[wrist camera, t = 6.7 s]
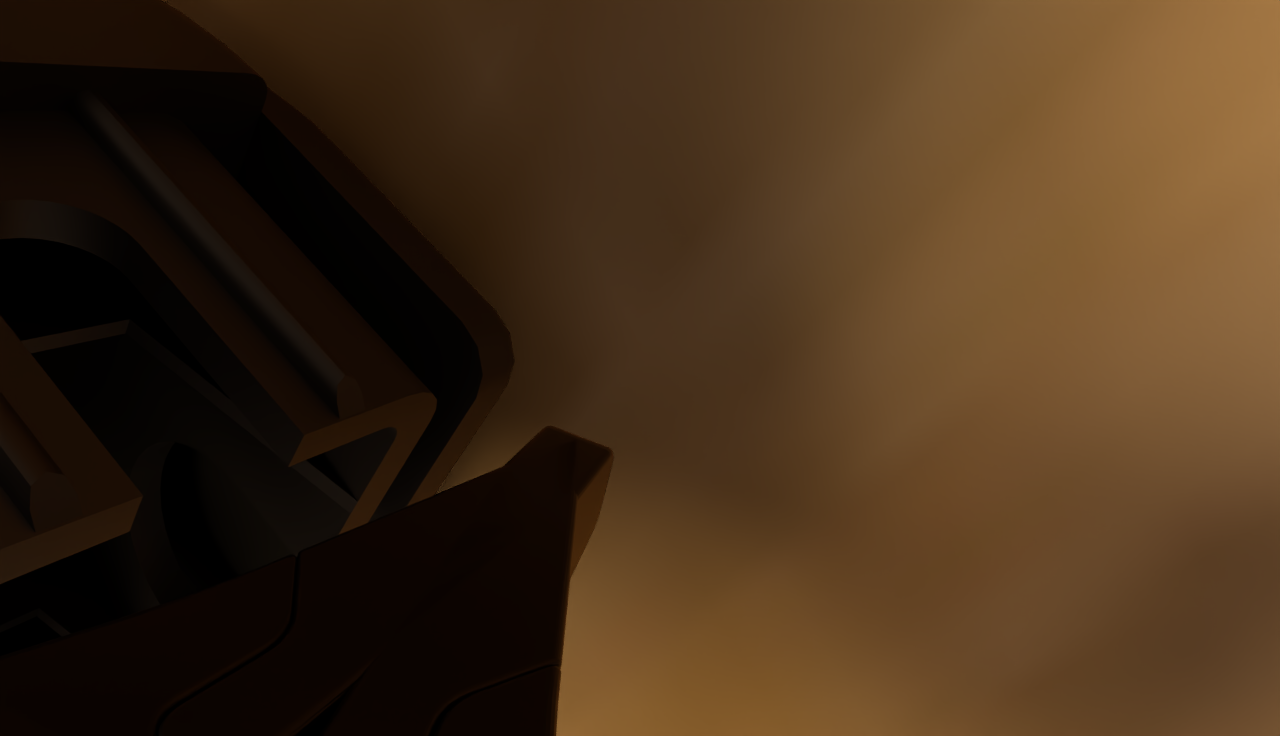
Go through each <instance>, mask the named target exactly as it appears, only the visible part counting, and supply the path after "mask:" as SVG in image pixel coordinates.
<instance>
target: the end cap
mask: <svg viewBox="0 0 1280 736" xmlns="http://www.w3.org/2000/svg"><path fill="white" fill-rule="evenodd" d="M514 361H515V360H514V354H513V348H512V342H511V336H510V333H509V331H508V330H507V328H506V326H505V325H504V323H503V322H502V320H501V319H500V317H499V315H498V314H497V312H496V311H495V309H494V308H493V307H492V306H491V305H490V304H489V303H488V302H487V301H486V300H485V299H484V298H483V297H482V296H481V295H480V294H479V293H478V292H477V291H476V290H475V289H474V288H473V287H472V286H471V285H470V284H469V283H468V282H467V281H466V280H465V278H464V277H463V276H462V275H461V274H460V273H459V272H458V271H457V270H456V269H455V268H454V267H453V266H452V265H451V264H450V263H449V262H448V261H447V260H446V259H445V258H444V257H443V256H442V255H441V254H440V253H439V252H438V251H437V250H436V249H435V248H434V246H433V245H432V244H431V243H430V242H429V241H428V240H427V239H426V238H425V237H424V236H423V235H422V234H421V233H420V232H419V231H418V230H417V229H416V228H415V227H414V226H413V225H412V224H411V223H410V222H409V221H408V220H407V219H406V218H405V217H404V216H403V214H402V213H401V212H400V211H399V210H398V209H397V208H396V207H395V206H394V205H393V204H392V203H391V202H390V201H389V200H388V199H387V198H386V197H385V196H384V195H383V194H382V193H381V192H380V191H379V190H378V189H377V188H376V187H375V186H374V185H373V184H372V182H371V181H370V180H369V179H368V178H367V177H366V176H365V175H364V174H363V173H362V172H361V171H360V170H359V169H358V168H357V167H356V166H355V165H354V164H353V163H352V162H351V161H350V160H349V159H348V158H347V157H346V156H345V155H344V154H343V153H342V152H341V150H340V149H339V148H338V147H337V146H336V145H335V144H334V143H333V142H332V141H331V140H330V139H329V138H328V137H327V136H326V135H325V134H324V133H323V132H322V131H321V130H320V129H319V128H318V127H317V126H316V125H315V124H314V123H313V122H312V121H311V120H309V119H308V118H307V117H305V116H304V115H303V114H301V113H300V112H299V111H298V110H296V109H295V108H294V107H292V106H291V105H290V104H289V103H287V102H286V101H285V100H283V99H282V98H281V97H279V96H278V95H277V94H276V93H274V92H273V91H272V90H270V89H269V88H268V87H267V85H266V83H265V81H264V80H263V78H261V77H260V76H259V75H258V74H257V73H256V72H255V71H254V70H253V69H252V68H250V67H249V66H248V65H247V64H246V63H245V62H244V61H243V60H242V59H241V58H239V57H238V56H237V55H236V54H235V53H234V52H233V51H232V50H231V49H230V48H228V47H227V46H226V45H225V44H224V43H222V42H221V41H219V40H218V39H217V38H215V37H214V36H213V35H211V34H210V33H209V32H207V31H206V30H204V29H203V28H202V27H200V26H199V25H198V24H196V23H195V22H194V21H192V20H191V19H189V18H188V17H187V16H185V15H184V14H183V13H181V12H179V11H178V10H176V9H174V8H173V7H171V6H169V5H168V4H166V3H165V2H163V1H161V0H0V656H3V655H6V654H9V653H12V652H15V651H18V650H21V649H25V648H28V647H31V646H34V645H37V644H40V643H43V642H46V641H50V640H53V639H56V638H59V637H62V636H65V635H68V634H72V633H75V632H78V631H81V630H84V629H87V628H90V627H94V626H97V625H100V624H103V623H106V622H109V621H112V620H116V619H119V618H122V617H125V616H128V615H131V614H134V613H137V612H139V611H142V610H145V609H148V608H151V607H154V606H157V605H160V604H163V603H166V602H169V601H172V600H175V599H178V598H181V597H184V596H187V595H189V594H192V593H195V592H198V591H200V590H203V589H205V588H208V587H210V586H213V585H216V584H218V583H221V582H223V581H226V580H229V579H231V578H234V577H236V576H239V575H241V574H244V573H247V572H249V571H252V570H254V569H257V568H259V567H261V566H264V565H266V564H269V563H271V562H274V561H276V560H278V559H281V558H283V557H286V556H288V555H295V556H296V557H298V553H299V552H300V551H301V550H303V549H306V548H308V547H310V546H313V545H315V544H318V543H320V542H323V541H325V540H327V539H330V538H332V537H335V536H337V535H339V534H342V533H344V532H347V531H349V530H351V529H354V528H356V527H359V526H361V525H363V524H366V523H368V522H371V521H373V520H376V519H378V518H380V517H383V516H385V515H388V514H390V513H392V512H395V511H397V510H400V509H402V508H404V507H407V506H409V505H412V504H414V503H416V502H419V501H421V500H424V499H426V498H429V497H431V496H433V495H434V494H435V493H436V491H437V490H438V488H439V487H440V485H441V484H442V482H443V481H444V479H445V478H446V476H447V475H448V473H449V472H450V470H451V469H452V467H453V466H454V464H455V463H456V461H457V460H458V458H459V457H460V455H461V454H462V452H463V451H464V449H465V448H466V446H467V445H468V443H469V442H470V440H471V439H472V437H473V436H474V434H475V433H476V431H477V430H478V428H479V427H480V425H481V424H482V422H483V421H484V419H485V418H486V416H487V415H488V413H489V412H490V410H491V409H492V407H493V406H494V404H495V403H496V401H497V400H498V398H499V397H500V395H501V394H502V392H503V391H504V389H505V388H506V386H507V384H508V381H509V377H510V374H511V371H512V367H513V364H514Z"/></svg>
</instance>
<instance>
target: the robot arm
mask: <svg viewBox="0 0 1280 736" xmlns="http://www.w3.org/2000/svg"><path fill="white" fill-rule="evenodd" d="M613 458H614V456H613V451H612V450H611V448H609V447H607V446H604V445H601V444H599V443H596V442H593V441H591V440H588V439H586V438H583V437H580V436H578V435H575V434H572V433H570V432H567V431H564V430H562V429H559V428H556V427H553V426H547V427H545V428H544V429H542V430H541V431H540V432H539V433H538V434H537V435H536V436H535V437H534V438H533V439H532V440H531V441H530V442H528V443H527V444H526V445H525V446H524V447H523V448H522V449H521V450H520V451H519V452H518V453H517V454H516V455H515V456H514V457H513V458H512V459H511V460H509V461H508V462H507V463H506V464H505V465H504V466H503V467H501V468H498V469H496V470H494V471H491V472H489V473H486V474H484V475H482V476H479V477H477V478H474V479H472V480H469V481H467V482H465V483H462V484H460V485H457V486H455V487H453V488H450V489H448V490H445V491H443V492H441V493H438V494H436V495H433V496H431V497H429V498H426V499H424V500H421V501H419V502H416V503H414V504H412V505H409V506H407V507H404V508H402V509H400V510H397V511H395V512H392V513H390V514H388V515H385V516H383V517H380V518H378V519H376V520H373V521H371V522H368V523H366V524H363V525H361V526H359V527H356V528H354V529H351V530H349V531H347V532H344V533H342V534H339V535H337V536H335V537H332V538H330V539H327V540H325V541H323V542H320V543H318V544H315V545H313V546H310V547H308V548H306V549H303V550H301V551H300V552H299V553H298V557H296V556H295V555H288V556H286V557H283V558H281V559H278V560H276V561H274V562H271V563H269V564H266V565H264V566H261V567H259V568H257V569H254V570H252V571H249V572H247V573H244V574H241V575H239V576H236V577H234V578H231V579H229V580H226V581H223V582H221V583H218V584H216V585H213V586H210V587H208V588H205V589H203V590H200V591H198V592H195V593H192V594H189V595H187V596H184V597H181V598H178V599H175V600H172V601H169V602H166V603H163V604H160V605H157V606H154V607H151V608H148V609H145V610H142V611H139V612H137V613H134V614H131V615H128V616H125V617H122V618H119V619H116V620H112V621H109V622H106V623H103V624H100V625H97V626H94V627H90V628H87V629H84V630H81V631H78V632H75V633H72V634H68V635H65V636H62V637H59V638H56V639H53V640H50V641H46V642H43V643H40V644H37V645H34V646H31V647H28V648H25V649H21V650H18V651H15V652H12V653H9V654H6V655H3V656H0V736H556V730H557V711H558V700H559V690H560V680H561V670H560V669H561V665H562V655H563V645H564V635H565V625H566V615H567V605H568V595H569V585H570V578H571V576H572V574H573V572H574V570H575V568H576V566H577V564H578V562H579V560H580V558H581V555H582V553H583V551H584V549H585V547H586V545H587V543H588V541H589V539H590V537H591V535H592V532H593V530H594V528H595V525H596V523H597V520H598V517H599V514H600V510H601V506H602V502H603V499H604V495H605V491H606V487H607V483H608V479H609V475H610V471H611V467H612V463H613Z"/></svg>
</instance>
